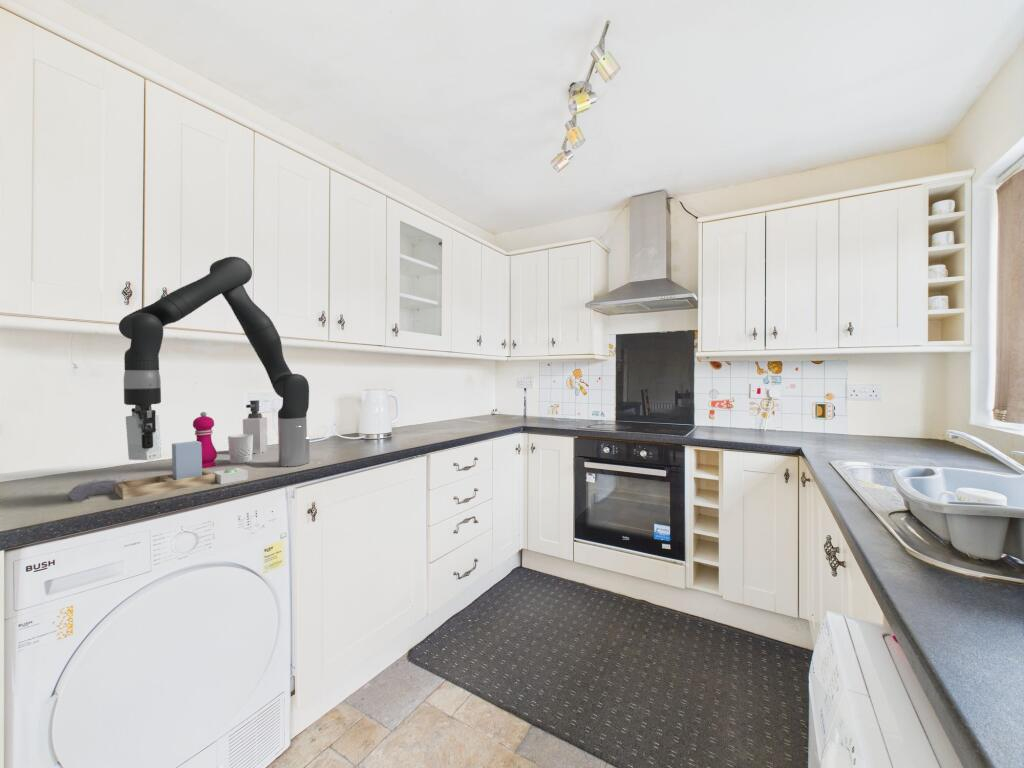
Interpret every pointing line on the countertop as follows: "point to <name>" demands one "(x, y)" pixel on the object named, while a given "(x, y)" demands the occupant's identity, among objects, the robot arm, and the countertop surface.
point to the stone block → (94, 488)
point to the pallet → (160, 484)
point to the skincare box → (136, 441)
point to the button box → (230, 476)
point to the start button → (229, 470)
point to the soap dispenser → (256, 427)
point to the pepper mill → (205, 439)
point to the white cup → (240, 448)
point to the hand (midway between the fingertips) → (144, 446)
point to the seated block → (186, 460)
